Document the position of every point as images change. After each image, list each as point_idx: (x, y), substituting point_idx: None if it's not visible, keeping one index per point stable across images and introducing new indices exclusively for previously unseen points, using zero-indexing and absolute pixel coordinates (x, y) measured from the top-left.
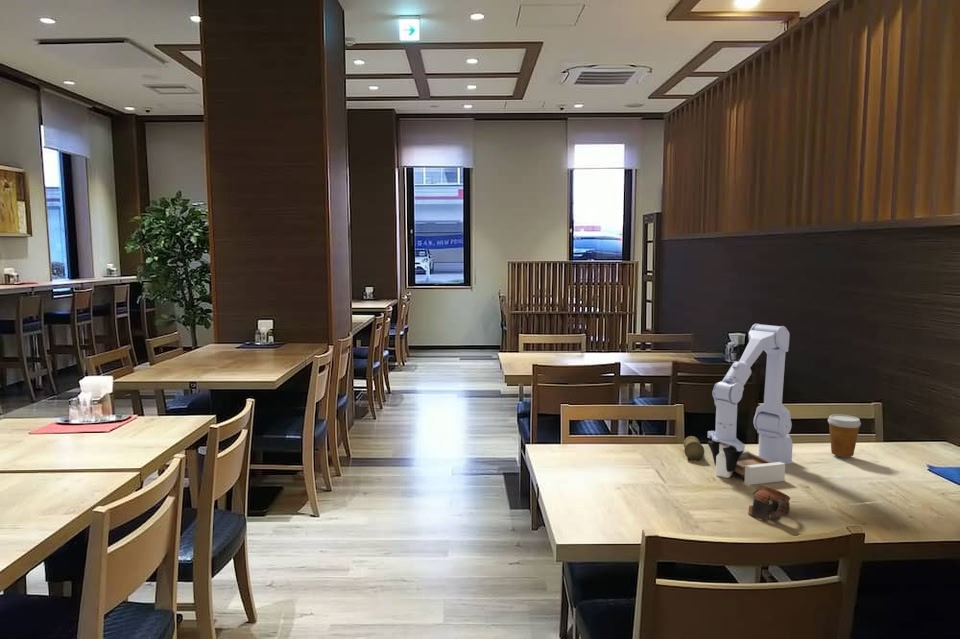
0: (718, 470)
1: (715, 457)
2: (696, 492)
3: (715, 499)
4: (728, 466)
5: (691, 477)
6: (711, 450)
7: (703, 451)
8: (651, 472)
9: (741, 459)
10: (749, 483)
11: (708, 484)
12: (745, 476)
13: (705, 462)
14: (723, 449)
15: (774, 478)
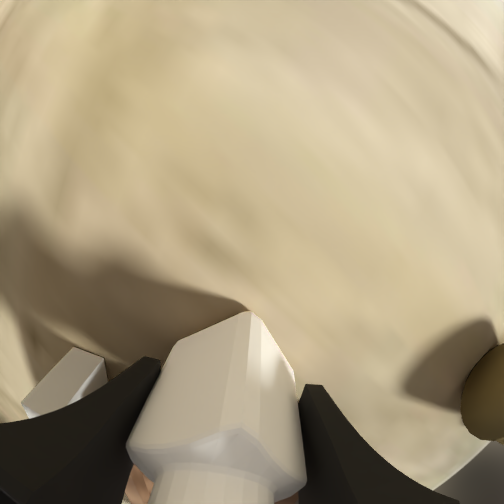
0: (227, 336)
1: (322, 432)
2: (100, 5)
3: (18, 58)
4: (115, 377)
5: (319, 116)
6: (386, 467)
7: (470, 425)
8: (459, 18)
9: (282, 501)
10: (70, 352)
11: (142, 128)
12: (80, 377)
13: (435, 395)
14: (21, 485)
15: None
